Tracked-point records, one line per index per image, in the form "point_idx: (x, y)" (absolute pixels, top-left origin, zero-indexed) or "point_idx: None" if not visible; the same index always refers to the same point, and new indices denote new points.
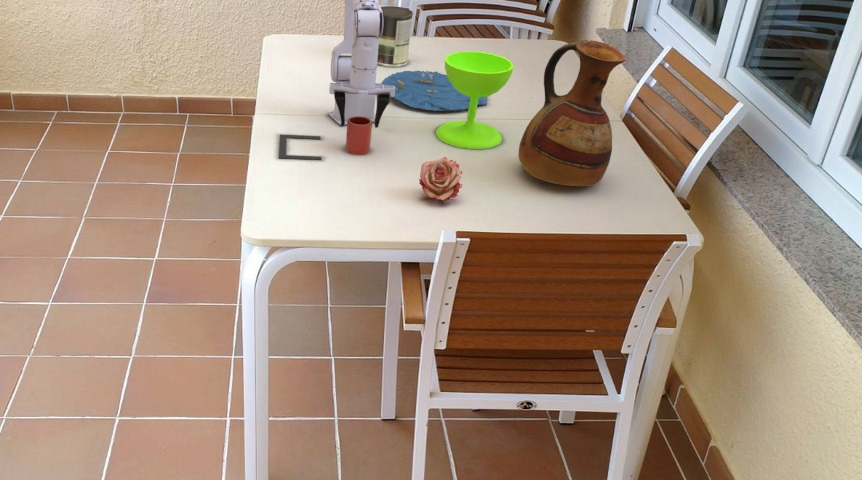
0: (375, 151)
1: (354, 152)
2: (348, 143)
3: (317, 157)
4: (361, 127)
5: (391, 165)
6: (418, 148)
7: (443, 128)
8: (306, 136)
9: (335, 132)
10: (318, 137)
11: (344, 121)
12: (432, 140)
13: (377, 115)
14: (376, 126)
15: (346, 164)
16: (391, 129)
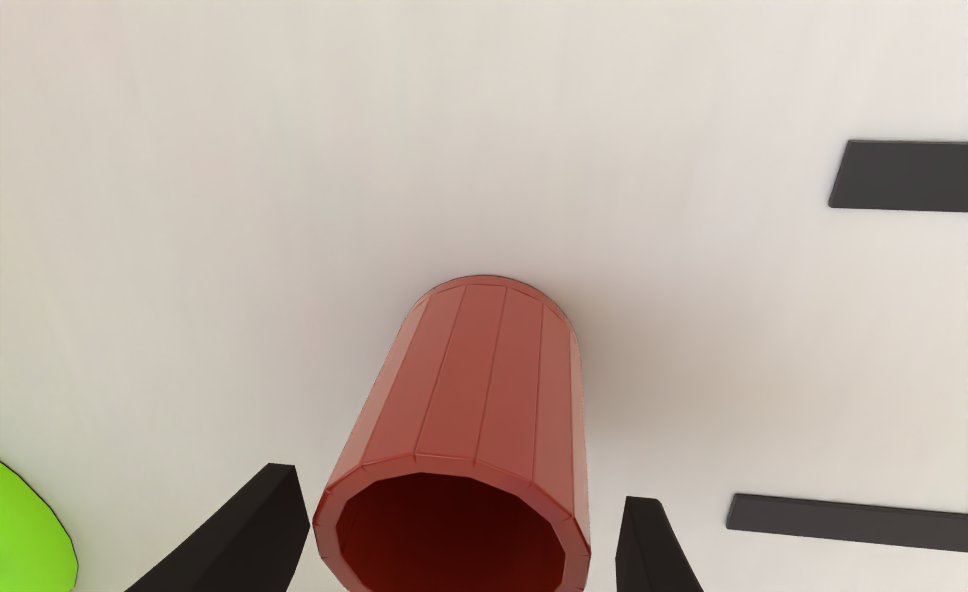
0: (360, 334)
1: (517, 287)
2: (567, 356)
3: (880, 182)
4: (431, 436)
5: (205, 79)
6: (98, 382)
7: (15, 563)
8: (830, 528)
9: (610, 569)
10: (746, 514)
11: (639, 539)
12: (59, 474)
13: (192, 583)
14: (275, 472)
15: (612, 61)
16: (296, 583)
